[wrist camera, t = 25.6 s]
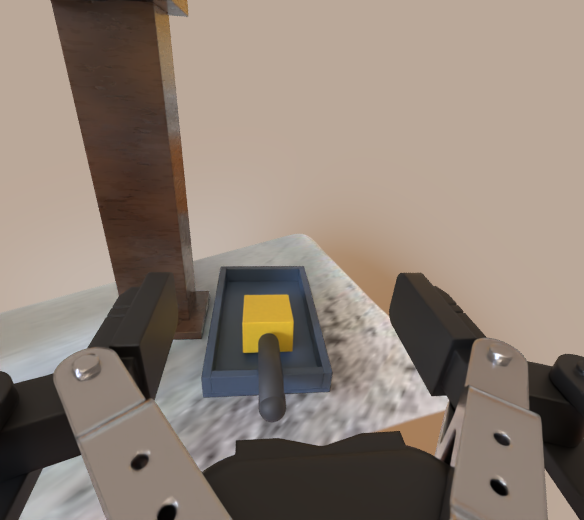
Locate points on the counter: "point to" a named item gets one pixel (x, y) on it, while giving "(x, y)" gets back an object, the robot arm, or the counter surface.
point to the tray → (244, 366)
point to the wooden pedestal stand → (134, 139)
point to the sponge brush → (268, 347)
